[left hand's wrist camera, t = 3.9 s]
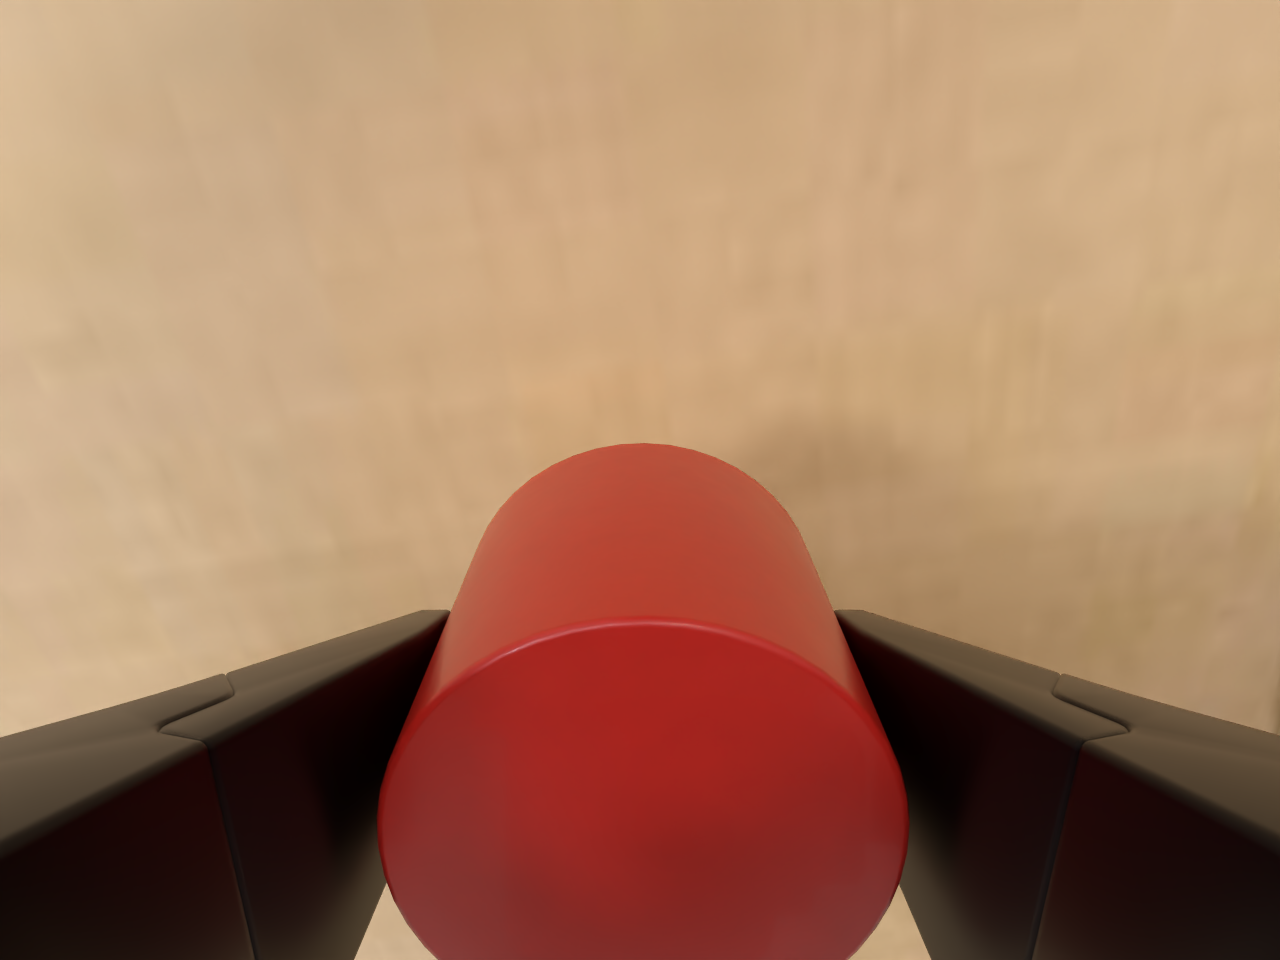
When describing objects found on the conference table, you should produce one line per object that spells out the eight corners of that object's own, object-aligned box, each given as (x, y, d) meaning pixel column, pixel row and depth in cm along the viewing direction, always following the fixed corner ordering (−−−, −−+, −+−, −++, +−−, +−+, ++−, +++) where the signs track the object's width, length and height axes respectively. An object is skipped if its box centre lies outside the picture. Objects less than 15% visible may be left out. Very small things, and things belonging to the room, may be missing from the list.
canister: (479, 744, 13) (399, 1037, 9) (458, 439, 11) (344, 616, 7) (799, 747, 13) (879, 1041, 9) (830, 443, 11) (949, 623, 7)
